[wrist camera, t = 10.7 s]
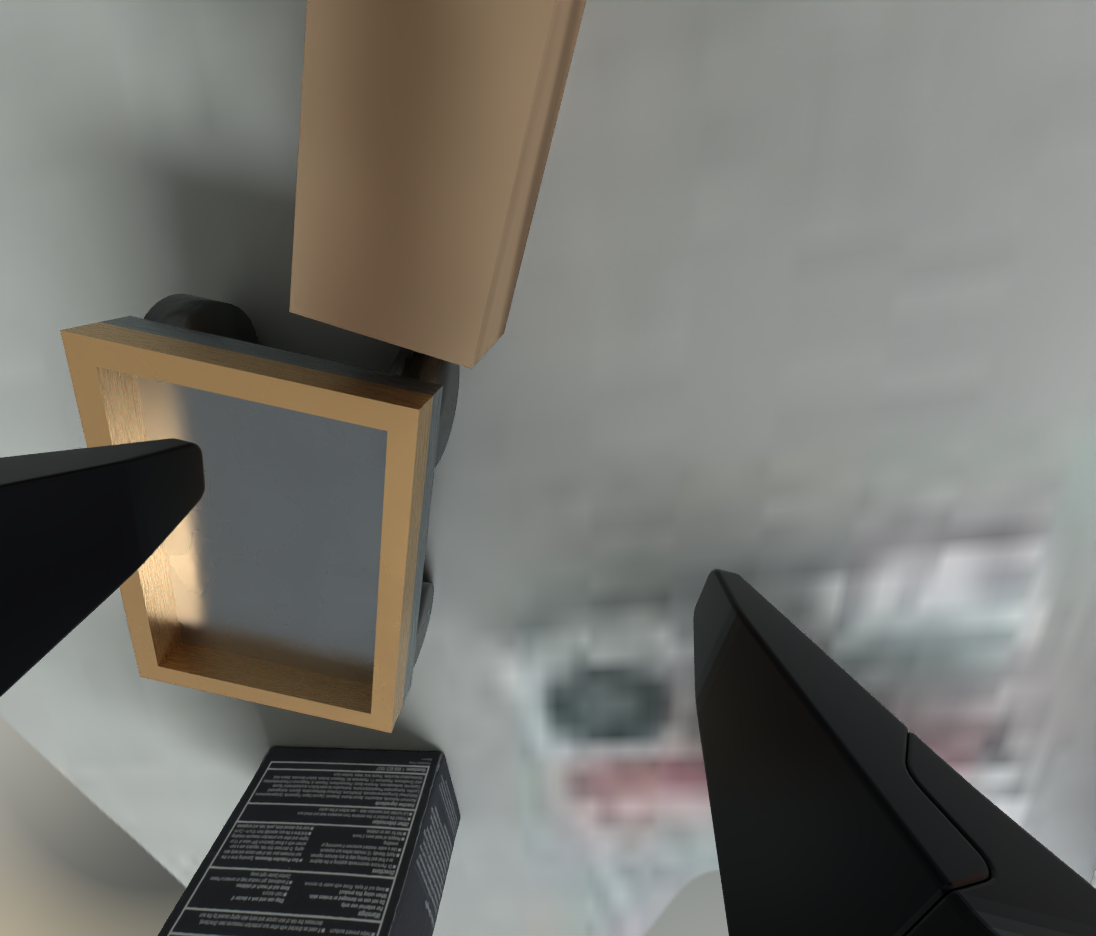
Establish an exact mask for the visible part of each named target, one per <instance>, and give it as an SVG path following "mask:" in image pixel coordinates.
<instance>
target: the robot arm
mask: <svg viewBox="0 0 1096 936" xmlns="http://www.w3.org/2000/svg"><path fill="white" fill-rule="evenodd" d="M205 487H206V484H205V474H204V463H203V453H202V450H201V448H200V447H199V446H198V445H197V444H195V443H193V442H188V441H184V440H180V439H175V438H169V439H160V440H151V441H143V442H134V443H125V444H116V445H108V446H99V447H90V448H81V449H73V450H64V451H55V452H46V453H38V454H29V455H20V456H12V457H3V458H0V697H1V696H2V695H3V694H4V693H5V692H6V691H7V690H8V689H9V688H10V687H12V686H13V685H14V684H15V683H16V682H17V681H18V680H19V679H20V678H21V677H22V676H23V675H25V674H26V673H27V672H28V671H29V670H30V669H31V668H32V667H33V666H34V665H35V664H36V663H38V662H39V661H40V660H41V659H42V658H43V657H44V656H45V655H46V654H47V653H48V652H49V651H50V650H52V649H53V648H54V647H55V646H56V645H57V644H58V643H59V642H60V641H61V640H62V639H63V638H65V637H66V636H67V635H68V634H69V633H70V632H71V631H72V630H73V629H74V628H75V627H76V626H78V625H79V624H80V623H81V622H82V621H83V620H84V619H85V618H86V617H87V616H88V615H89V614H90V613H92V612H93V611H94V610H95V609H96V608H97V607H98V606H99V605H100V604H101V603H102V602H103V601H105V600H106V599H107V598H108V597H109V596H110V595H111V594H112V593H113V592H114V591H115V590H116V589H117V588H119V587H120V586H121V585H122V584H123V583H124V582H125V581H126V580H127V579H128V578H129V577H130V576H132V575H133V574H134V573H135V572H136V571H137V570H138V569H139V568H140V567H141V566H142V565H143V564H144V563H145V562H146V561H147V559H148V558H149V557H150V556H151V555H152V554H153V553H154V552H155V551H156V550H157V549H158V547H159V546H160V545H161V544H162V543H163V542H164V541H165V540H166V538H167V537H168V536H169V535H170V534H171V533H172V532H173V531H174V529H175V528H176V527H177V526H178V525H179V524H180V523H181V522H182V520H183V519H184V518H185V517H186V516H187V515H188V514H189V513H190V511H191V510H192V509H193V508H194V507H195V506H196V505H197V504H198V503H199V501H200V500H201V499H202V497H203V495H204V492H205ZM693 623H694V665H695V697H696V708H697V716H698V723H699V730H700V737H701V744H702V751H703V758H704V765H705V772H706V779H707V786H708V793H709V800H710V807H711V814H712V821H713V828H714V835H715V842H716V849H717V856H718V862H719V869H720V876H721V883H722V890H723V896H724V904H725V911H726V918H727V925H728V932H729V936H1096V888H1094V887H1093V886H1092V885H1091V884H1089V883H1088V882H1087V881H1086V880H1085V879H1083V878H1082V877H1081V876H1080V875H1079V874H1077V873H1076V872H1075V871H1074V870H1072V869H1071V868H1070V867H1069V866H1068V865H1066V864H1065V863H1064V862H1063V861H1062V860H1060V859H1059V858H1058V857H1057V856H1056V855H1054V854H1053V853H1052V852H1051V851H1049V850H1048V849H1047V848H1046V847H1045V846H1043V845H1042V844H1041V843H1040V842H1039V841H1037V840H1036V839H1035V838H1034V837H1032V836H1031V835H1030V834H1029V833H1028V832H1026V831H1025V830H1024V829H1023V828H1022V827H1021V826H1019V825H1018V824H1017V823H1016V822H1015V821H1013V820H1012V819H1011V818H1010V817H1009V816H1007V815H1006V814H1005V813H1004V812H1003V811H1001V810H1000V809H999V808H998V807H997V806H996V805H994V804H993V803H992V802H991V801H990V800H988V799H987V798H986V797H985V796H984V795H982V794H981V793H980V792H979V791H978V790H977V789H975V788H974V787H973V786H972V785H971V784H970V783H969V782H967V781H966V780H965V779H964V778H963V777H962V776H961V775H960V774H958V773H957V772H956V771H955V770H954V769H953V768H952V767H951V766H949V765H948V764H947V763H946V762H945V761H944V760H943V759H941V758H940V757H939V756H938V755H937V754H936V753H935V752H934V751H933V750H931V749H930V748H929V747H928V746H927V745H926V744H925V743H924V742H923V741H922V740H921V739H919V738H918V737H917V736H916V735H915V734H914V733H912V732H909V733H908V729H907V727H906V726H905V725H904V724H903V723H902V722H901V721H899V720H898V719H897V718H896V717H895V716H894V715H893V714H892V713H891V712H890V711H888V710H887V709H886V708H885V707H884V706H883V705H882V704H881V703H880V702H878V701H877V700H876V699H875V698H874V697H873V696H872V695H871V694H870V693H869V692H867V691H866V690H865V689H864V688H863V687H862V686H861V685H860V684H859V683H858V682H856V681H855V680H854V679H853V678H852V677H851V676H850V675H849V674H848V673H847V672H845V671H844V670H843V669H842V668H841V667H840V666H839V665H838V664H837V663H835V662H834V661H833V660H832V659H831V658H830V657H829V656H828V655H827V654H826V653H824V652H823V651H822V650H821V649H820V648H819V647H818V646H817V645H816V644H815V643H813V642H812V641H811V640H810V639H809V638H808V637H807V636H806V635H805V634H804V633H802V632H801V631H800V630H799V629H798V628H797V627H796V626H795V625H794V624H792V623H791V622H790V621H789V620H788V619H787V618H786V617H785V616H784V615H783V614H781V613H780V612H779V611H778V610H777V609H776V608H775V607H774V606H773V605H772V604H770V603H769V602H768V601H767V600H766V599H765V598H764V597H763V596H762V595H761V594H759V593H758V592H757V591H756V590H755V589H754V588H753V587H752V586H751V585H750V584H748V583H747V582H746V581H745V580H744V579H743V578H742V577H741V576H740V575H738V574H736V573H733V572H728V571H724V570H720V569H714V570H713V571H711V573H710V574H709V576H708V578H707V580H706V583H705V585H704V588H703V590H702V592H701V595H700V597H699V599H698V602H697V604H696V607H695V611H694V619H693Z"/></svg>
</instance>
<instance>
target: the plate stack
mask: <svg viewBox="0 0 1096 936" xmlns="http://www.w3.org/2000/svg"><path fill="white" fill-rule="evenodd" d="M1091 885H1092V886H1093V887H1094V888H1096V870H1095V873H1094V875H1093V879H1092V882H1091Z"/></svg>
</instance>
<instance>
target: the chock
mask: <svg viewBox="0 0 1096 936" xmlns="http://www.w3.org/2000/svg"><path fill="white" fill-rule="evenodd" d="M585 4H586V0H307V9H306V26H305V44H304V62H303V79H302V97H301V115H300V132H299V150H298V168H297V185H296V203H295V221H294V239H293V256H292V274H291V292H290V309H289V312H292V313H295V314H298V315H301V316H304V317H308V318H311V319H314V320H317V321H320V322H323V323H327V324H330V325H333V326H336V327H339V328H343V329H346V330H349V331H352V332H355V333H359V334H362V335H365V336H368V337H371V338H375V339H378V340H381V341H384V342H387V343H391V344H394V345H397V346H400V347H403V348H406V349H410V350H413V351H416V352H419V353H422V354H426V355H429V356H432V357H435V358H438V359H442V360H445V361H448V362H451V363H454V364H458V365H461V366H464V367H467V368H470V369H472V368H473V367H474V366H475V365H476V363H477V362H478V361H479V360H480V359H481V358H482V357H483V356H484V355H485V353H486V352H487V351H488V350H489V349H490V348H491V347H492V346H493V345H494V343H495V342H496V341H497V340H498V339H499V338H500V337H501V336H502V335H503V333H504V330H505V326H506V322H507V318H508V314H509V310H510V306H511V302H512V298H513V294H514V290H515V286H516V282H517V278H518V274H519V270H520V266H521V262H522V258H523V254H524V250H525V246H526V242H527V238H528V234H529V230H530V226H531V222H532V218H533V213H534V209H535V205H536V201H537V197H538V193H539V189H540V185H541V181H542V177H543V173H544V169H545V165H546V161H547V157H548V153H549V149H550V145H551V141H552V137H553V133H554V129H555V125H556V121H557V117H558V113H559V109H560V105H561V101H562V97H563V92H564V88H565V84H566V80H567V76H568V72H569V68H570V64H571V60H572V56H573V52H574V48H575V44H576V40H577V36H578V32H579V28H580V24H581V20H582V16H583V12H584V8H585Z"/></svg>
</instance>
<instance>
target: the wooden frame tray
mask: <svg viewBox="0 0 1096 936" xmlns="http://www.w3.org/2000/svg"><path fill="white" fill-rule="evenodd" d="M60 331H61V336H62V340H63V344H64V349H65V353H66V357H67V362H68V366H69V370H70V375H71V379H72V383H73V388H74V392H75V396H76V401H77V405H78V409H79V414H80V418H81V422H82V427H83V431H84V435H85V440H86V444H87V448H90V447H99V446H108V445H116V444H125V443H134V442H143V441H151V440H160V439H169V438H175V439H180V440H184V441H188V442H193V443H195V444H197V445H198V446H199V447H200V448H201V450H202V453H203V463H204V474H205V484H206V487H205V492H204V495H203V497H202V499H201V500H200V501H199V503H198V504H197V505H196V506H195V507H194V508H193V509H192V510H191V511H190V513H189V514H188V515H187V516H186V517H185V518H184V519H183V520H182V522H181V523H180V524H179V525H178V526H177V527H176V528H175V529H174V531H173V532H172V533H171V534H170V535H169V536H168V537H167V538H166V540H165V541H164V542H163V543H162V544H161V545H160V546H159V547H158V549H157V550H156V551H155V552H154V553H153V554H152V555H151V556H150V557H149V558H148V559H147V561H146V562H145V563H144V564H143V565H142V566H141V567H140V568H139V569H138V570H137V571H136V572H135V573H134V574H133V575H132V576H130V577H129V578H128V579H127V580H126V581H125V582H124V583H123V584H122V585H121V586H120V591H121V596H122V600H123V604H124V609H125V613H126V617H127V622H128V626H129V630H130V635H131V639H132V643H133V648H134V652H135V656H136V661H137V665H138V669H139V674H140V677H144V678H148V679H153V680H157V681H162V682H166V683H170V684H175V685H179V686H184V687H188V688H193V689H197V690H202V691H206V692H210V693H215V694H219V695H224V696H228V697H233V698H237V699H242V700H246V701H250V702H255V703H259V704H264V705H268V706H273V707H277V708H282V709H286V710H290V711H295V712H299V713H304V714H308V715H313V716H317V717H322V718H326V719H330V720H335V721H339V722H344V723H348V724H353V725H357V726H362V727H366V728H371V729H375V730H379V731H384V732H388V733H391V732H392V730H393V727H394V725H395V723H396V720H397V718H398V716H399V713H400V711H401V708H402V706H403V704H404V701H405V699H406V696H407V694H408V692H409V689H410V687H411V682H412V673H413V668H414V665H415V663H416V661H417V658H418V656H419V653H420V650H421V647H422V644H423V641H424V638H425V634H426V631H427V627H428V623H429V619H430V614H431V609H432V603H433V594H434V588H433V584H432V583H428V582H423V581H422V579H423V570H424V560H425V551H426V541H427V532H428V523H429V513H430V504H431V495H432V485H433V476H434V468H435V466H436V465H437V464H438V462H439V460H440V458H441V456H442V454H443V452H444V449H445V447H446V444H447V441H448V438H449V435H450V431H451V428H452V424H453V419H454V415H455V410H456V404H457V397H458V388H459V365H458V364H454V363H451V362H448V361H445V360H442V359H438V358H435V357H432V356H429V355H426V354H422V353H419V352H416V351H413V350H410V349H406V348H403V349H402V350H401V351H400V352H399V354H398V355H397V357H396V359H395V361H394V363H393V365H392V367H391V370H390V372H389V373H385V372H381V371H376V370H372V369H367V368H363V367H358V366H354V365H349V364H345V363H340V362H336V361H331V360H326V359H322V358H317V357H313V356H308V355H304V354H299V353H295V352H290V351H286V350H281V349H277V348H272V347H268V346H263V345H259V344H258V340H257V336H256V332H255V329H254V327H253V325H252V323H251V321H250V319H249V318H248V316H247V315H246V314H245V313H244V312H243V311H242V310H241V309H240V308H238V307H236V306H234V305H232V304H228V303H224V302H219V301H215V300H210V299H205V298H201V297H196V296H192V295H187V294H175V295H171V296H168V297H166V298H164V299H162V300H160V301H159V302H158V303H156V304H155V305H154V306H153V307H152V308H151V309H150V310H149V312H148V313H147V314H146V316H145V317H144V319H141V318H137V317H132V316H128V317H123V318H118V319H113V320H108V321H104V322H99V323H94V324H89V325H84V326H79V327H74V328H70V329H65V330H60Z"/></svg>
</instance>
